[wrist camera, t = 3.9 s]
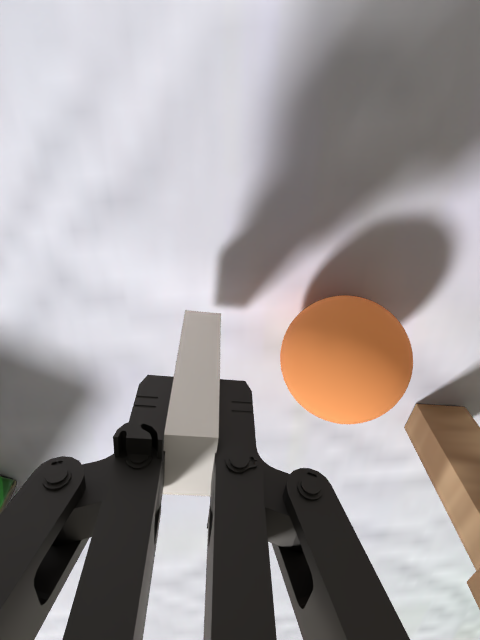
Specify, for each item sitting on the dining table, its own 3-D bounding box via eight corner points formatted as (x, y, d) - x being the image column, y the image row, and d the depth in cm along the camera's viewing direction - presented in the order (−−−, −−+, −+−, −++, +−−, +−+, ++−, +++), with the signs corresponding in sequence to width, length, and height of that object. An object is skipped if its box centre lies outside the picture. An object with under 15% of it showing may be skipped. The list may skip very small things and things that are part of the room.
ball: (464, 356, 13) (404, 284, 18) (311, 333, 13) (290, 264, 17) (400, 459, 16) (363, 374, 21) (273, 444, 16) (264, 360, 20)
